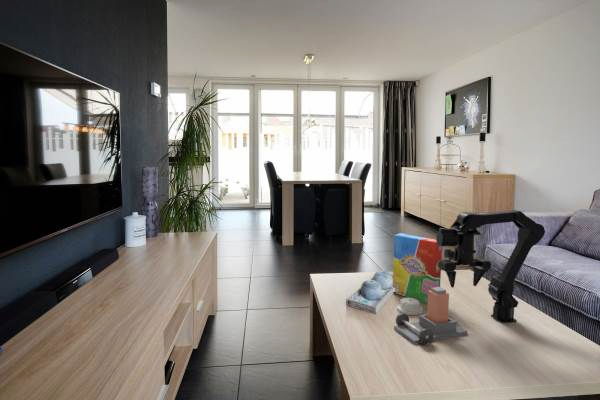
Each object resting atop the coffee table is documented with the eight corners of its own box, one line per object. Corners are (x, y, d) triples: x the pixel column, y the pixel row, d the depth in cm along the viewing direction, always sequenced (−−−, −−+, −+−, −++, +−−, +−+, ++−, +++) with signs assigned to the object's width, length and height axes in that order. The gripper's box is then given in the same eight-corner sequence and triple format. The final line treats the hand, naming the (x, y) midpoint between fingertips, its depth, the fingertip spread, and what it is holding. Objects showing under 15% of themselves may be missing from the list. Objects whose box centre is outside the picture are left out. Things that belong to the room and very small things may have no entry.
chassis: (441, 319, 149) (442, 306, 149) (470, 335, 135) (470, 322, 135) (391, 327, 142) (392, 314, 142) (416, 346, 128) (417, 331, 128)
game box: (391, 292, 178) (393, 234, 175) (398, 290, 182) (400, 232, 179) (434, 305, 163) (436, 241, 160) (440, 302, 166) (443, 239, 163)
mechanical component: (397, 314, 154) (423, 316, 152) (397, 304, 154) (424, 306, 152) (396, 305, 164) (421, 307, 162) (396, 295, 163) (421, 297, 161)
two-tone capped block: (438, 323, 143) (439, 285, 141) (447, 329, 138) (449, 290, 136) (426, 325, 141) (428, 287, 140) (435, 331, 136) (437, 292, 135)
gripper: (475, 240, 155) (473, 278, 157) (431, 242, 152) (430, 281, 154) (493, 247, 144) (491, 288, 146) (446, 249, 141) (445, 290, 143)
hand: (463, 286), depth 147 cm, fingers open, 9 cm apart
